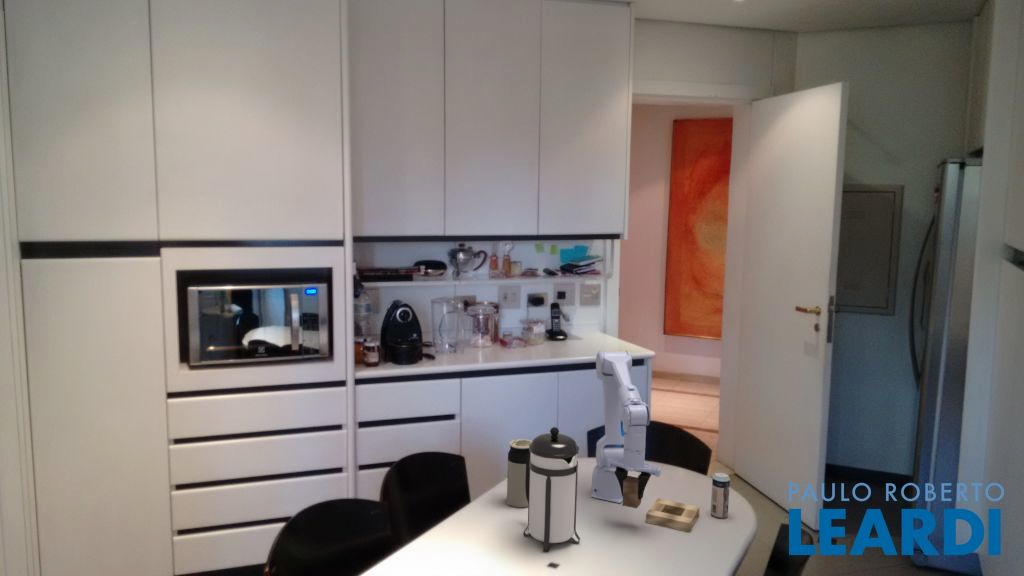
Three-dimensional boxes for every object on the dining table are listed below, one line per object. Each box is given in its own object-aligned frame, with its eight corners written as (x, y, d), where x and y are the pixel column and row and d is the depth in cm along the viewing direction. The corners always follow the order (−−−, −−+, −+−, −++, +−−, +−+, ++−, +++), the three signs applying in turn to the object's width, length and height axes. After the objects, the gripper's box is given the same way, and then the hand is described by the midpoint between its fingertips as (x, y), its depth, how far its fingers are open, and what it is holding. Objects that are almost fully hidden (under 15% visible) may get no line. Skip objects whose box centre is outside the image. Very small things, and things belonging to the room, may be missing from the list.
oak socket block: (645, 522, 188) (646, 513, 188) (657, 506, 199) (657, 498, 198) (689, 532, 183) (689, 523, 182) (699, 515, 193) (699, 507, 193)
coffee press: (586, 530, 182) (590, 421, 179) (572, 557, 167) (576, 439, 164) (525, 519, 188) (528, 414, 185) (506, 545, 173) (508, 430, 170)
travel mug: (538, 500, 201) (539, 441, 199) (527, 510, 194) (528, 449, 192) (513, 495, 204) (515, 437, 203) (502, 504, 197) (503, 444, 195)
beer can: (728, 519, 191) (731, 478, 190) (711, 518, 192) (713, 477, 190) (726, 512, 195) (729, 472, 194) (709, 511, 196) (711, 471, 195)
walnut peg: (622, 505, 184) (623, 480, 184) (627, 499, 188) (628, 475, 187) (636, 508, 183) (637, 483, 182) (641, 503, 186) (642, 478, 185)
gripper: (603, 447, 183) (602, 496, 185) (656, 457, 177) (654, 507, 178) (612, 440, 190) (610, 487, 191) (663, 449, 183) (661, 498, 185)
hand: (632, 496), depth 185 cm, fingers closed on walnut peg, 4 cm apart
